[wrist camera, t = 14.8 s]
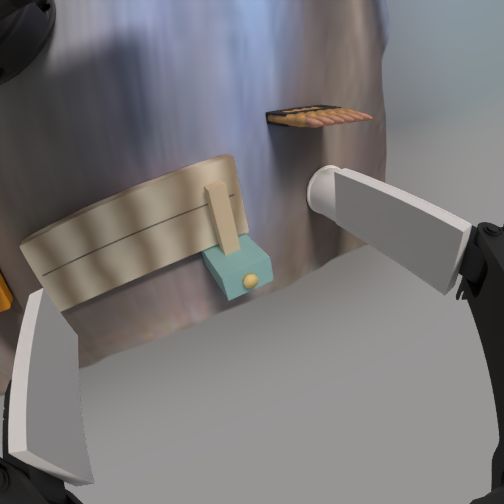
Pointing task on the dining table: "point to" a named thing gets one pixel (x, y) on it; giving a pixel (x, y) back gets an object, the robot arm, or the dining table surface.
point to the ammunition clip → (314, 116)
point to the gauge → (233, 249)
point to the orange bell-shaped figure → (4, 295)
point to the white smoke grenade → (323, 192)
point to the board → (131, 233)
